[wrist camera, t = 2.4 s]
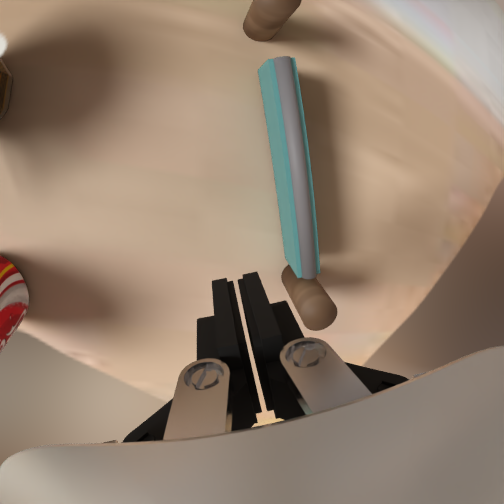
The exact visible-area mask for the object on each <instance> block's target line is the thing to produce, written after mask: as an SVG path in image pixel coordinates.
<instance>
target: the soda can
mask: <svg viewBox="0 0 504 504" xmlns="http://www.w3.org/2000/svg"><path fill="white" fill-rule="evenodd" d="M28 307H29V294H28V290H27V286H26V284H25V281H24V279H23V277H22V276H21V274H20V273H19V271H18V270H17V269H16V267H15V266H14V265H13V264H12V263H11V262H10V261H8V260H7V259H5V258H4V257H2V256H0V353H1V351H2V350H3V349H4V347H5V346H6V344H7V343H8V341H9V340H10V338H11V337H12V335H13V334H14V332H15V331H16V329H17V328H18V326H19V325H20V323H21V322H22V320H23V318H24V316H25V314H26V312H27V310H28Z"/></svg>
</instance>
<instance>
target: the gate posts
mask: <svg viewBox="0 0 504 504" xmlns="http://www.w3.org/2000/svg"><path fill="white" fill-rule="evenodd" d="M300 3H301V0H253V2H252V4H251V6H250V9H249V11H248V13H247V16H246V18H245V20H244V23H243V29H244V32H245V34H246V35H247V36H248V37H249V38H251V39H253V40H256V41H267V40H269V39H271V38H272V37H273V36H274V35H275V34H276V33H277V32H278V30H279V29H280V28H281V27H282V26H283V24H284V23H285V22H286V21H287V20H288V18H289V17H290V16H291V15H292V14H293V13H294V12H295V10H296V9H297V8H298V7H299V5H300ZM281 278H282V282H283V284H284V286H285V288H286V290H287V292H288V294H289V296H290V298H291V300H292V302H293V304H294V306H295V307H296V309H297V311H298V313H299V315H300V317H301V319H302V321H303V323H304V325H305V326H306V327H307V328H308V329H310V330H314V331H318V330H322V329H325V328H327V327H328V326H330V325H331V324H332V323H333V322H334V320H335V318H336V316H337V307H336V305H335V304H334V302H333V301H332V300H331V298H330V297H329V295H328V294H327V293H326V291H325V290H324V289H323V287H322V286H321V284H320V283H319V282H318V280H317V279H316V277H315V278H313V279H304V278H302V277H301V278H297V276H296V274H295V273H294V271H293V270H292V268H291V266H290V265H288V266H286V267H285V269H284V270H283V272H282V276H281Z"/></svg>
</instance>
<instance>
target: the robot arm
mask: <svg viewBox="0 0 504 504" xmlns="http://www.w3.org/2000/svg"><path fill="white" fill-rule="evenodd" d="M238 284H239V289H240V294H241V299H242V304H243V309H244V314H245V319H246V324H247V328H248V333H249V338H250V343H251V347H252V351H253V355H254V359H255V363H256V368H257V372H258V376H259V380H260V384H261V388H262V392H263V396H264V400H265V404H266V408H267V411H270V410H274V413H275V417H276V419H277V418H281V419H284V421H280V422H275V423H271V424H266V425H262V426H257V427H252V426H253V425H254V423H258V422H257V418H256V413H261V412H262V410H261V406H260V402H259V397H258V393H257V389H256V384H255V380H254V375H253V371H252V367H251V362H250V358H249V353H248V349H247V344H246V340H245V335H244V330H243V326H242V321H241V317H240V312H239V307H238V302H237V298H236V293H235V288H234V283H233V281H229V282H227V278H224V279H219V280H214V281H212V291H213V305H214V316H210V317H204V318H199V319H197V361H195V362H192V363H191V364H189V365H187V366H186V367H185V368H184V369H183V370H182V371H181V373H180V375H179V378H178V382H177V386H176V390H175V393H174V397H173V399H172V400H170V401H169V402H168V403H167V404H166V405H164V406H163V407H162V408H161V409H159V410H158V411H157V412H156V413H155V414H153V415H152V416H151V417H150V418H148V419H147V420H146V421H145V422H143V423H142V424H141V425H140V426H139V427H137V428H136V429H135V430H133V431H132V432H131V433H130V434H128V435H127V436H126V438H125V439H124V440H123V442H121V443H118V441H117V440H113V441H109V442H104V443H94V444H93V443H91V444H54V445H45V446H39V447H34V448H30V449H27V450H23V451H21V452H18V453H16V454H14V455H12V456H10V457H9V458H8V459H6V460H5V461H4V463H3V464H2V465H1V467H0V504H504V346H498V347H491V348H488V349H485V350H481V351H477V352H475V353H472V354H470V355H467V356H465V357H462V358H459V359H457V360H455V361H453V362H451V363H448V364H446V365H444V366H441V367H439V368H437V369H434V370H432V371H430V372H426V373H421V374H417V375H413V379H411V380H409V379H407V378H405V377H403V376H400V375H396V374H392V373H387V372H383V371H378V370H374V369H370V368H366V367H362V366H358V365H354V364H350V363H346V362H344V361H343V360H342V359H341V358H340V357H339V356H338V355H337V354H336V352H335V351H334V350H333V349H332V348H331V347H330V346H329V345H328V344H327V343H326V342H325V341H323V340H320V339H318V338H311V337H309V338H304V336H303V333H302V331H301V329H300V327H299V325H298V323H297V321H296V319H295V317H294V315H293V313H292V311H291V309H290V307H289V305H288V303H287V301H281V302H277V303H272V304H270V303H269V301H268V298H267V295H266V293H265V290H264V288H263V285H262V283H261V280H260V278H259V275H258V273H257V272H253V273H248V274H243V279H239V280H238ZM251 427H252V428H251Z"/></svg>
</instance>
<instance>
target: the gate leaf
mask: <svg viewBox="0 0 504 504" xmlns="http://www.w3.org/2000/svg"><path fill="white" fill-rule="evenodd" d="M258 74H259V80H260V86H261V92H262V98H263V104H264V110H265V117H266V123H267V129H268V136H269V143H270V149H271V156H272V163H273V170H274V177H275V184H276V191H277V198H278V206H279V213H280V221H281V228H282V236H283V244H284V252H285V258H286V260H287V261H288V263H289V265H290V266H291V268H292V270H293V271H294V273H295V274H296V276H297V278H301V277H302V278H304V279H313V278H315V277H316V274H318V273H320V261H319V247H318V235H317V223H316V212H315V201H314V191H313V182H312V173H311V164H310V156H309V148H308V140H307V132H306V125H305V118H304V111H303V104H302V98H301V91H300V85H299V79H298V73H297V67H296V61H295V58H290V57H288V56H284V57H277V58H274V59H268V60H267V61H266V62H265V63H264V64H263V65H262V66H261V67H260V68H259V69H258Z"/></svg>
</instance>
